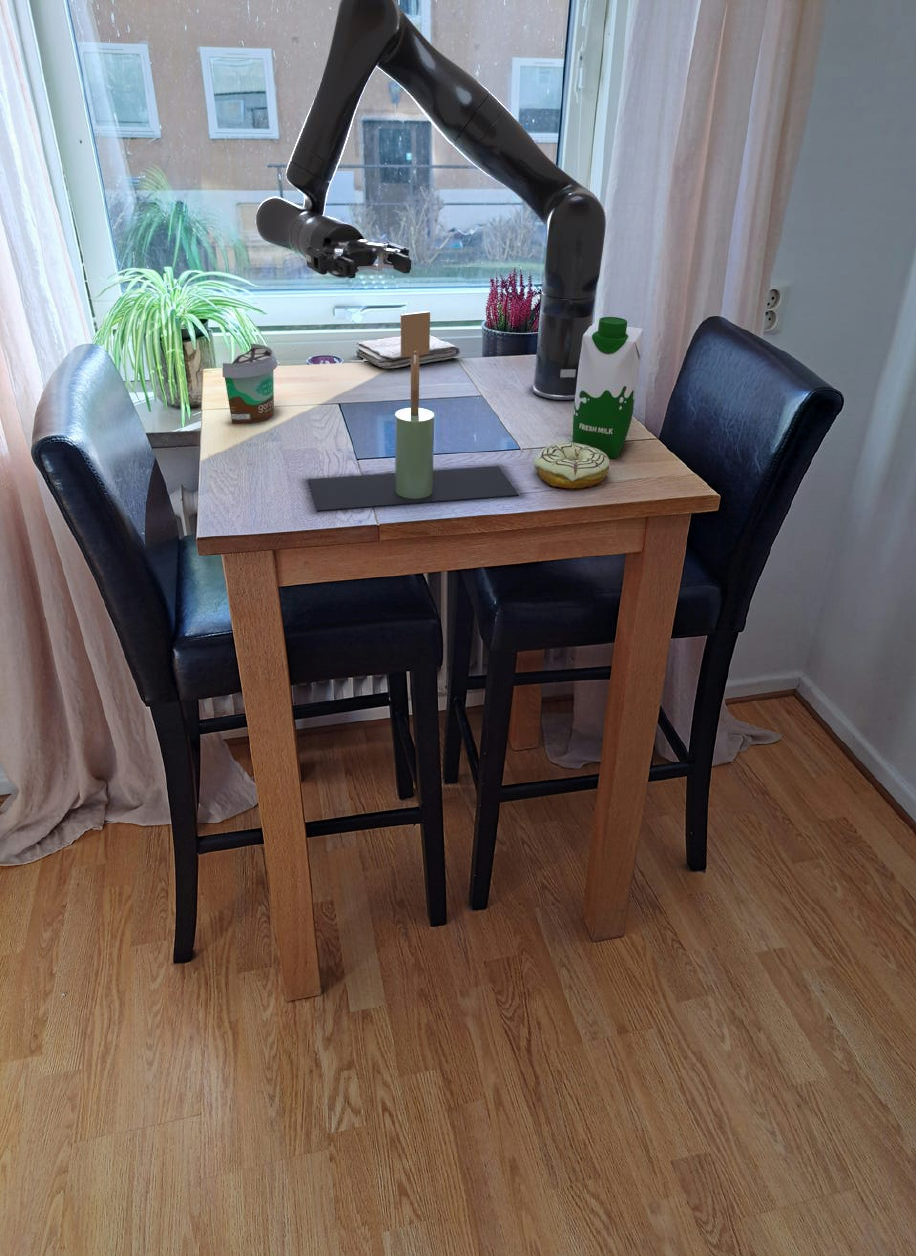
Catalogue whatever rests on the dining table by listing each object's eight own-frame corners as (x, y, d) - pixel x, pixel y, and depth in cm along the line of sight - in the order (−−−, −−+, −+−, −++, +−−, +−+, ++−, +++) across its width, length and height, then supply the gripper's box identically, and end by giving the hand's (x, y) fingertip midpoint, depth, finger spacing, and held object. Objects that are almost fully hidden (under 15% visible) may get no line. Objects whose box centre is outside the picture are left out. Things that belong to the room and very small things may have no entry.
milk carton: (565, 453, 137) (579, 320, 126) (578, 433, 144) (592, 306, 133) (621, 462, 134) (641, 328, 123) (631, 442, 142) (651, 313, 131)
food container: (265, 430, 140) (259, 367, 134) (228, 426, 141) (221, 364, 135) (291, 405, 150) (287, 345, 145) (257, 401, 151) (251, 342, 145)
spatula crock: (421, 480, 126) (423, 306, 113) (439, 494, 122) (444, 316, 109) (388, 487, 124) (387, 310, 110) (406, 501, 120) (407, 320, 107)
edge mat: (498, 467, 131) (498, 466, 131) (518, 495, 123) (518, 494, 123) (308, 480, 125) (308, 479, 125) (316, 511, 117) (316, 510, 117)
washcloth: (352, 355, 175) (351, 339, 173) (428, 343, 183) (429, 328, 182) (381, 372, 167) (381, 355, 165) (460, 359, 175) (461, 343, 174)
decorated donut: (519, 476, 129) (521, 451, 127) (564, 456, 135) (567, 433, 133) (576, 498, 123) (579, 473, 121) (620, 477, 130) (624, 453, 127)
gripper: (285, 221, 129) (333, 242, 117) (373, 216, 135) (426, 236, 124) (288, 275, 133) (335, 301, 121) (373, 268, 139) (425, 292, 128)
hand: (381, 268), depth 123 cm, fingers open, 8 cm apart
